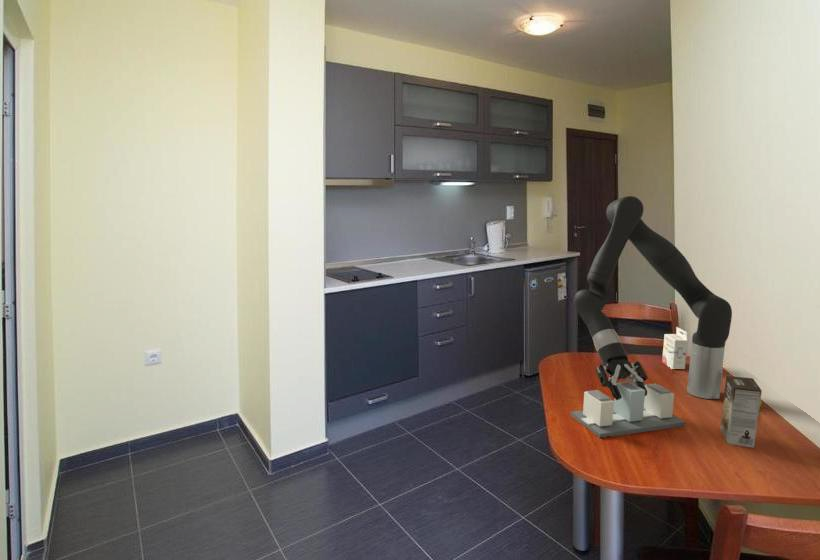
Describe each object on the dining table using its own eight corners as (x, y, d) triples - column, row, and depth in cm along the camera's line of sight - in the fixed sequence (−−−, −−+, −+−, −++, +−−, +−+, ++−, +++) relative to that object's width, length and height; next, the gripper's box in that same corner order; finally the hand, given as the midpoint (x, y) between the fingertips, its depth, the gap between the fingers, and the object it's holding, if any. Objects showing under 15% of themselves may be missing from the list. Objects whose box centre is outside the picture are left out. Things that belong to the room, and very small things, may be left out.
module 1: (594, 412, 143) (596, 388, 142) (612, 424, 135) (614, 399, 134) (582, 414, 142) (584, 389, 141) (599, 426, 134) (601, 400, 133)
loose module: (626, 409, 145) (628, 381, 143) (642, 419, 138) (645, 390, 137) (613, 411, 144) (615, 382, 142) (629, 421, 137) (631, 391, 136)
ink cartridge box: (660, 362, 191) (664, 326, 188) (673, 362, 191) (677, 326, 188) (672, 370, 182) (675, 332, 180) (685, 370, 182) (689, 332, 180)
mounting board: (650, 405, 151) (650, 400, 151) (685, 426, 138) (686, 420, 138) (570, 415, 145) (571, 410, 144) (599, 437, 131) (600, 432, 131)
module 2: (652, 405, 148) (654, 382, 146) (672, 417, 140) (674, 392, 139) (641, 406, 147) (643, 383, 146) (660, 418, 139) (662, 393, 138)
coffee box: (719, 428, 136) (725, 374, 134) (746, 432, 134) (752, 377, 131) (726, 444, 128) (733, 386, 125) (755, 448, 126) (763, 390, 123)
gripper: (594, 343, 143) (617, 395, 134) (635, 339, 146) (660, 390, 137) (583, 354, 149) (603, 405, 140) (623, 351, 152) (645, 400, 143)
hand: (631, 397), depth 139 cm, fingers open, 8 cm apart
